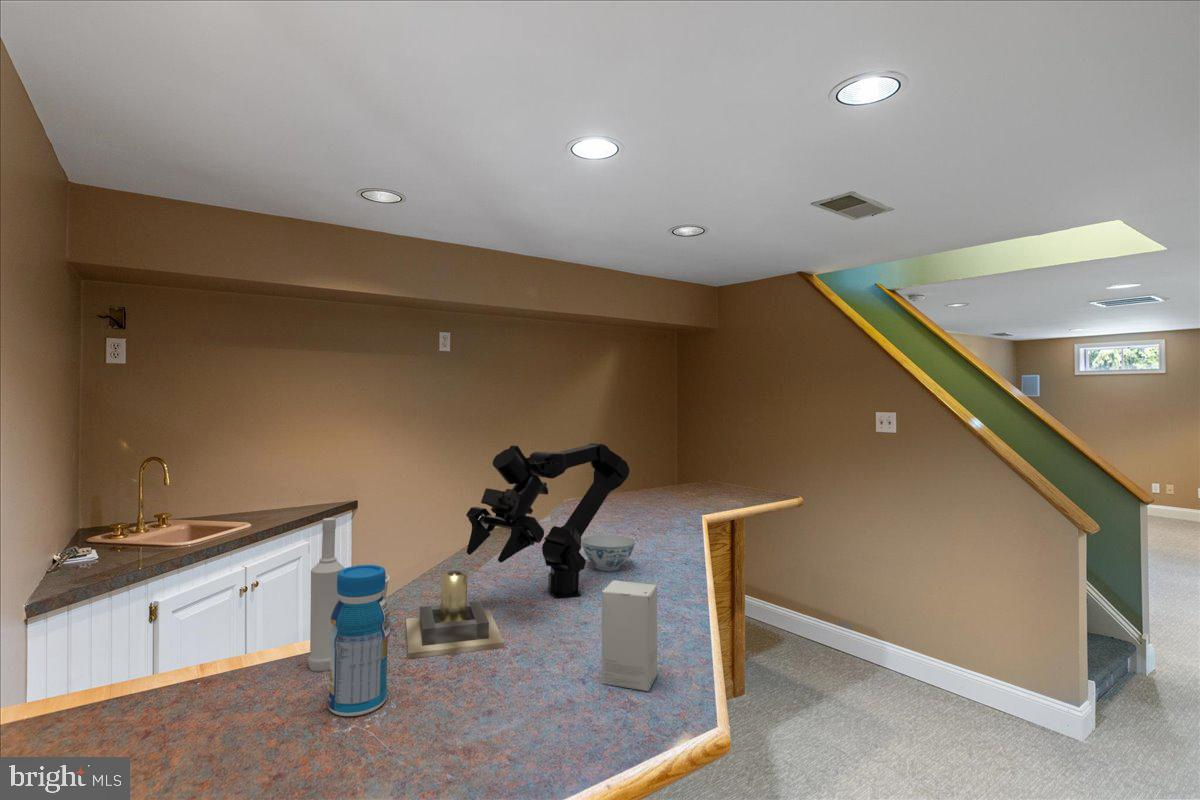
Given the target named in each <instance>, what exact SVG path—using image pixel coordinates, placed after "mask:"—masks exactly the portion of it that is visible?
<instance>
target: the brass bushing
mask: <svg viewBox="0 0 1200 800" xmlns="http://www.w3.org/2000/svg"><path fill="white" fill-rule="evenodd" d="M440 575H441V576H440V600H439V603H440V604H439V605H440V623H445V622H455V621H465V620H466V612H467V603H468V577H469V576H468V571H466V570H462V569H451V570H449V569H448V570H445V571H443V572H441V574H440Z"/></svg>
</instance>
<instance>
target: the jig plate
mask: <svg viewBox="0 0 1200 800" xmlns="http://www.w3.org/2000/svg"><path fill="white" fill-rule="evenodd" d="M493 617H494V616H493V615H492V613H491V611H490V610H484V607H483V605H482V604H481V601H473V602H472V601H469V602H467V612H466V620H465V621H455V622H445V623H440V604H438V605H428V606H427V605H425V606H420V607H419V617H411V618H405V630H406V631H405V632H406V633H405V634H406V644H407V645H406V647H407V659H408V660H410V659H419V658H427V657H436V656H443V655H444V656H445V655H453V654H462V653H469V652H477V651H486V650H493V649H496V650H497V649H503V648H505V641H504V639H503V636H502V635H501V633H500V632H501V631H499V628H498V626H497V624H496V622H495V619H494V618H493Z"/></svg>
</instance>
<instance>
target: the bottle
mask: <svg viewBox="0 0 1200 800" xmlns="http://www.w3.org/2000/svg"><path fill="white" fill-rule="evenodd" d="M336 521H337V519H336V518H335V517H324V518H323V519H322V529H321V530H322V537H321V538H322V539H321V540H322V541H321V542H322V543H321V557H320V558H319V561H318V562H317V563H316V565H314V566H313V567H312V568H311V569H310V613H309V614H310V620H309V621H310V623H309V627H310V628H309V630H310V631H309V633H310V636H309V637H310V638H309V639H310V640H309V641H310V642H309V643H310V644H309V646H310V647H309V649H310V650H309V655H308V657H307V663H308V668H309V670H310V671H312V672H326V671H327V672H328V671H330V651H331V646H330V643H329V634H330V631H331V629H332V628H333V625H332V623H331V615H332V612H333V610H334V608H335V606H336V604H337V603H338V601H339V600H340V598H341V597H339V596H338V593H337V576H338V573H339V571H341V570H342V569H344V568H345V566H344V565H342V564H341V563H340V562H339V561H338V559H337V557H336V556H335V551H336V550H335V545H336V543H335V542H336V527H337V522H336Z"/></svg>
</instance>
